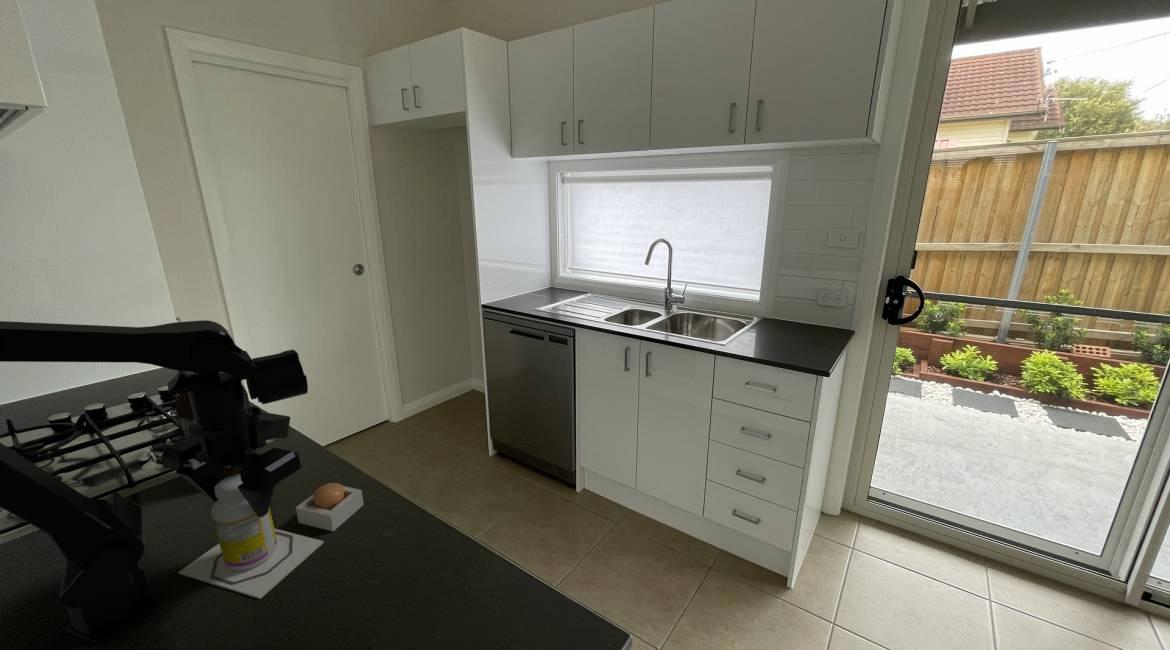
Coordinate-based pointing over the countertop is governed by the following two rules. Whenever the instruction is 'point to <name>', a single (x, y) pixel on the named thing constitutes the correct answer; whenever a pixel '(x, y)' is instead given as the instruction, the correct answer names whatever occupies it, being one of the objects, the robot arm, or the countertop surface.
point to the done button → (328, 496)
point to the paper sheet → (259, 577)
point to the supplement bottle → (241, 527)
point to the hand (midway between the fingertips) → (243, 510)
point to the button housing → (330, 518)
